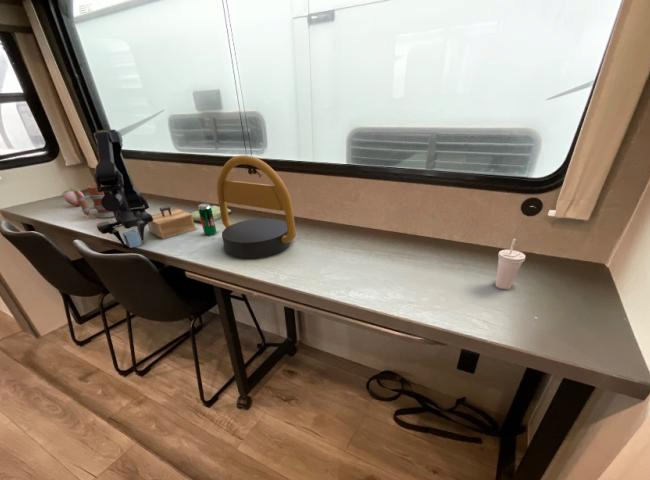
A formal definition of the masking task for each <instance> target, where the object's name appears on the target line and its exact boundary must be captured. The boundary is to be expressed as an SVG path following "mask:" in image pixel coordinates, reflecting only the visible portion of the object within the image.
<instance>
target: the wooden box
mask: <svg viewBox="0 0 650 480" xmlns="http://www.w3.org/2000/svg"><path fill="white" fill-rule="evenodd" d="M147 223H148V224H147V226H148V229H149V232H150V233H152V234H153V235H155V236H157V237H158V238H160V239H162V240H165V239H168V238H171V237H174V236H178V235H182V234H185V233H189V232H191V231H194V230H196V225H195V221H194V220H193V217H192V216H191V217H187V218H184V219H180V220H177V221H173V222H169V223H166V224H162V225H159V226H158V225H156V224H155V223H153V222H147Z"/></svg>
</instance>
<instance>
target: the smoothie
mask: <svg viewBox="0 0 650 480" xmlns="http://www.w3.org/2000/svg"><path fill="white" fill-rule="evenodd" d="M515 243H516V238H513V239H512V242H511V246H510V249H502V250H500V251H499V252H498V253H497V254H498V255H497V258H498V261H497V270H496V279H495V287H496V288H498V289H501V290H509V289H511V287H512V285H513V283H514V280H515V279H516V276H517V274H518V272H519V270H520V268H521V266H522V264H523V263H524V262H525V260H526V254H525V253H523V252H521V251H520V250H514V247H515Z"/></svg>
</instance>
